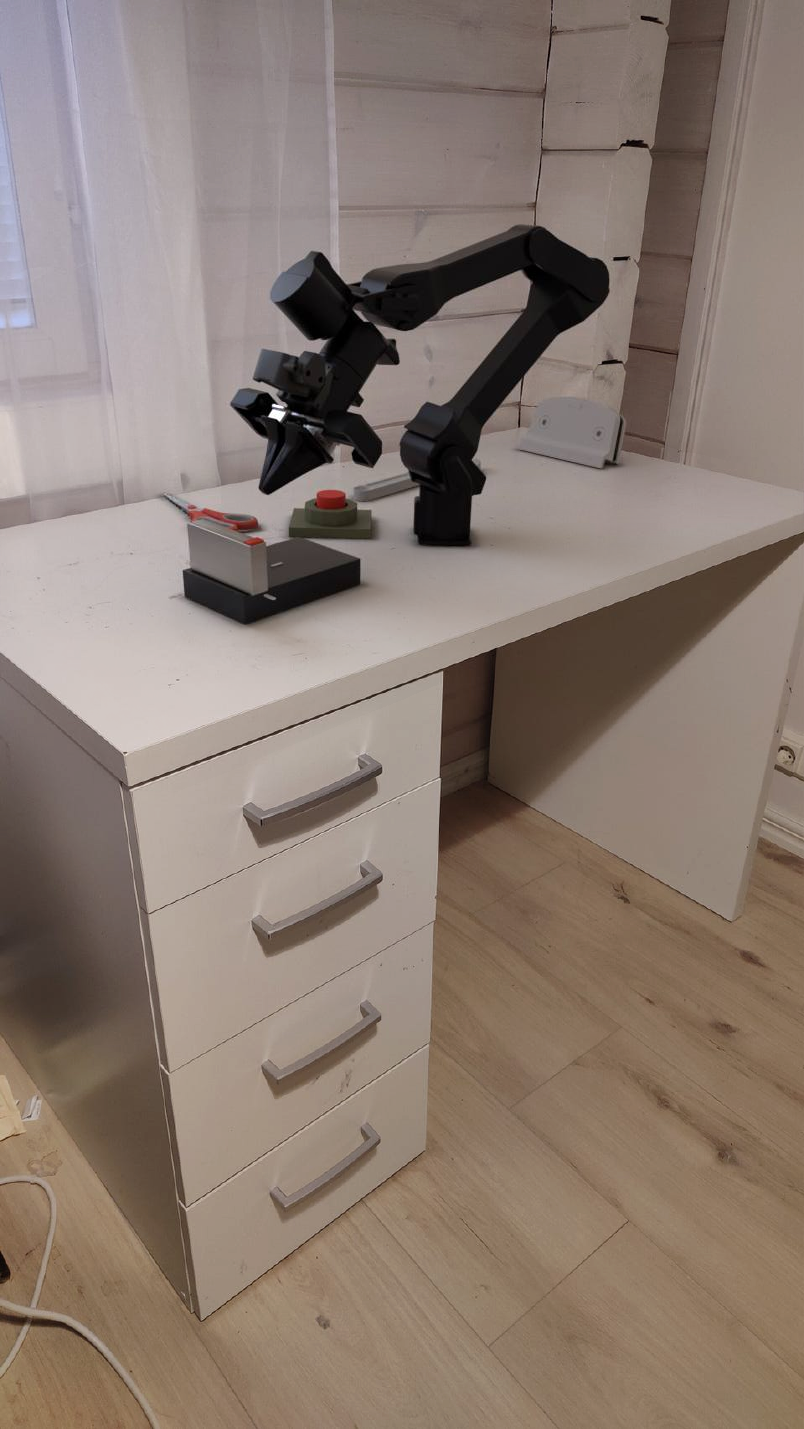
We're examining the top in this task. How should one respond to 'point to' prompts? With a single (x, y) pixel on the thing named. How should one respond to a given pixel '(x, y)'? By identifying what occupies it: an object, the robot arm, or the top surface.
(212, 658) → the top surface
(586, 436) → the grey mounting bracket
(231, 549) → the silver metal slab
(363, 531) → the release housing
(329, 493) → the release button
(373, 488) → the adjustable wrench
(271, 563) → the black flat block
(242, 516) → the scissors
